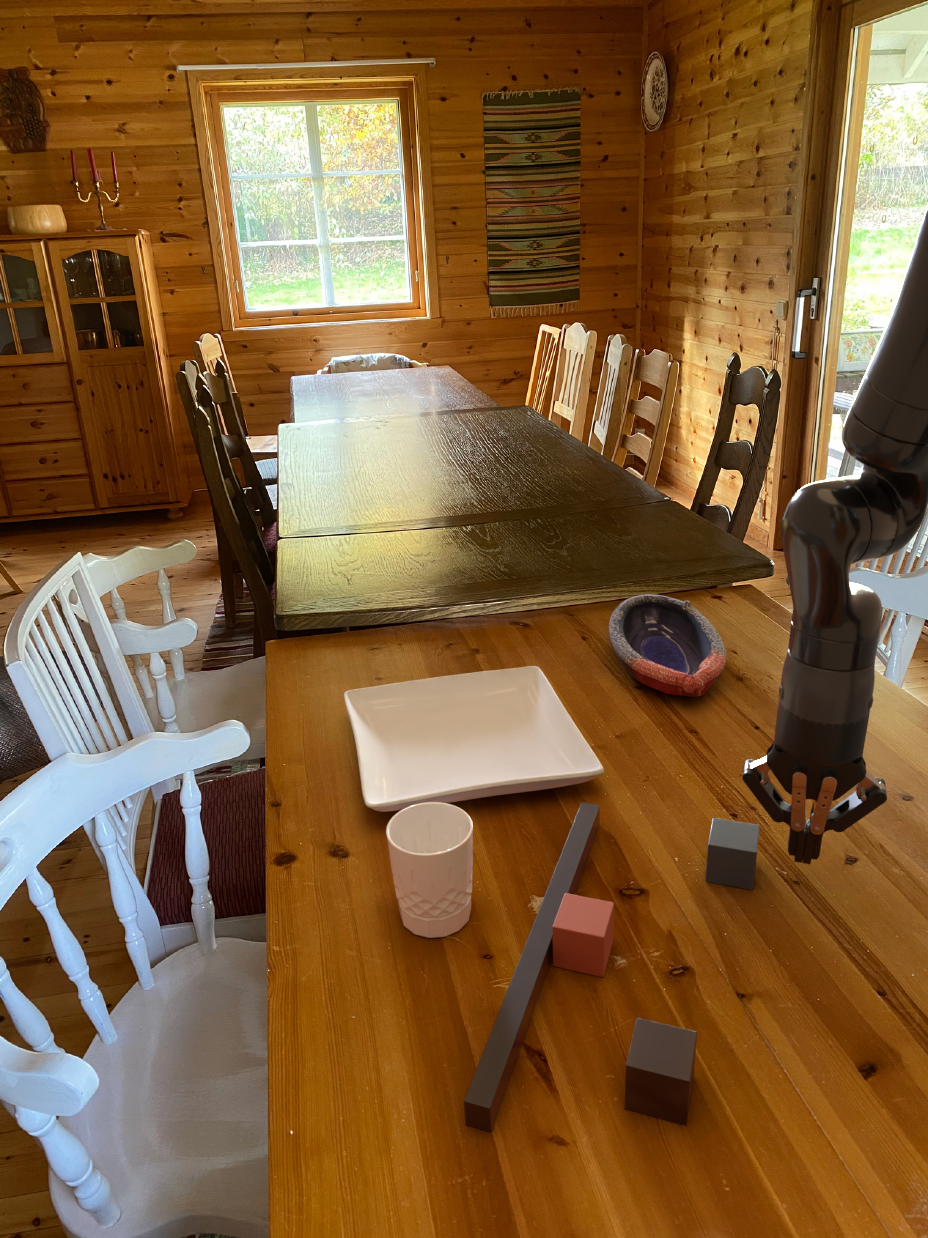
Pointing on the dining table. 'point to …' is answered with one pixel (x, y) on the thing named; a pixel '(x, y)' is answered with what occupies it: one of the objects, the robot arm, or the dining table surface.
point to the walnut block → (660, 1070)
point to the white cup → (432, 867)
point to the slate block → (732, 853)
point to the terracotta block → (583, 934)
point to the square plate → (465, 738)
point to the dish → (667, 644)
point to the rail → (528, 979)
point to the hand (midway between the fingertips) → (801, 857)
